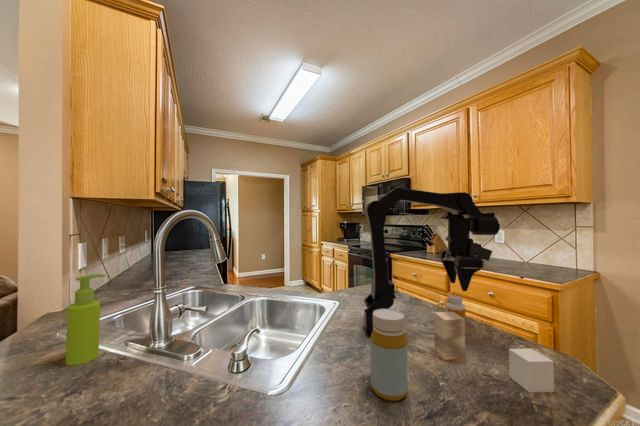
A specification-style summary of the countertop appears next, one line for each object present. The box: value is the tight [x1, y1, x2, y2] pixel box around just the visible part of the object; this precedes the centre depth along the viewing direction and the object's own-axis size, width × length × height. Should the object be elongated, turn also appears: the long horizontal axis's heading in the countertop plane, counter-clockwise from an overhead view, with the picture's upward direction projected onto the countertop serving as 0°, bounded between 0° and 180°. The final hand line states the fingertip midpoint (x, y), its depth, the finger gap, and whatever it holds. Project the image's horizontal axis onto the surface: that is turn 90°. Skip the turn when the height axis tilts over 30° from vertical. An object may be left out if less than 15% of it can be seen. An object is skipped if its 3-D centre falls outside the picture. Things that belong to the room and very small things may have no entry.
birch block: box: [433, 311, 466, 363], centre depth 62 cm, size 5×5×10 cm
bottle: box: [370, 308, 408, 402], centre depth 50 cm, size 7×7×15 cm
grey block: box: [508, 348, 555, 394], centre depth 52 cm, size 5×5×6 cm
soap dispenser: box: [64, 273, 107, 367], centre depth 62 cm, size 6×7×20 cm
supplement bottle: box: [445, 294, 466, 320], centre depth 79 cm, size 5×5×10 cm
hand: (458, 286), depth 75 cm, fingers open, 9 cm apart
